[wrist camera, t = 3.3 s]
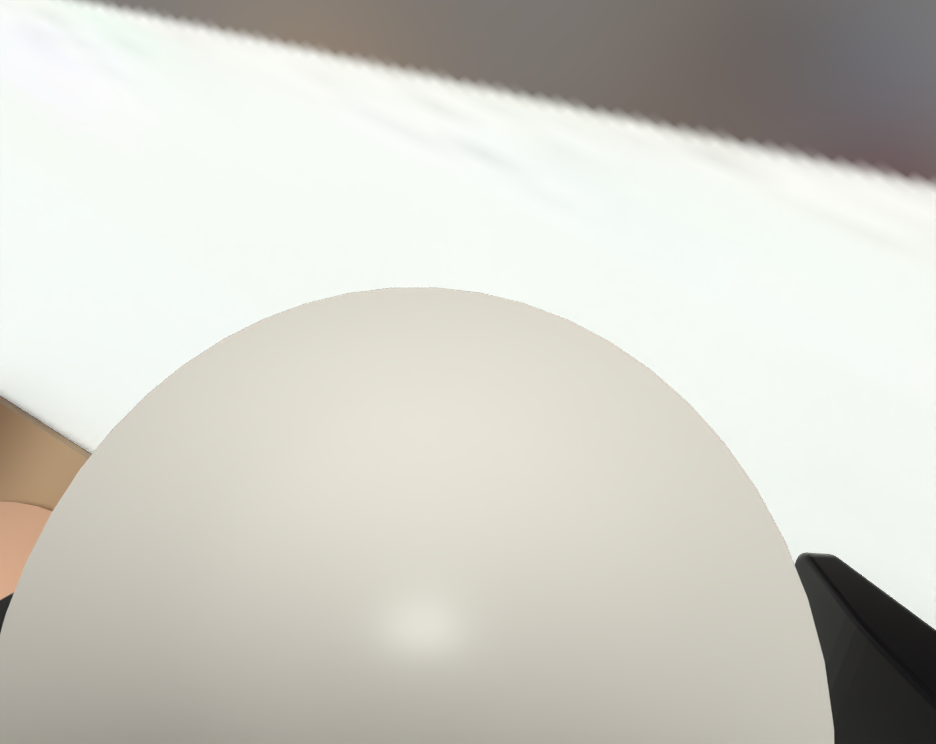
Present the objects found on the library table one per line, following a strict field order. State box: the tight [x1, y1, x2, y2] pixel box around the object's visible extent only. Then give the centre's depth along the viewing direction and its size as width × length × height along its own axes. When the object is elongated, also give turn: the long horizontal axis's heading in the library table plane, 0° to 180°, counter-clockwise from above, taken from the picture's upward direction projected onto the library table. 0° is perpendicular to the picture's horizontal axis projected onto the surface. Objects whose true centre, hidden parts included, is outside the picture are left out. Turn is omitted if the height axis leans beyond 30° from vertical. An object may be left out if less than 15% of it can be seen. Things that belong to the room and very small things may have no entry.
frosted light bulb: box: [0, 288, 834, 744], centre depth 9 cm, size 4×4×13 cm
